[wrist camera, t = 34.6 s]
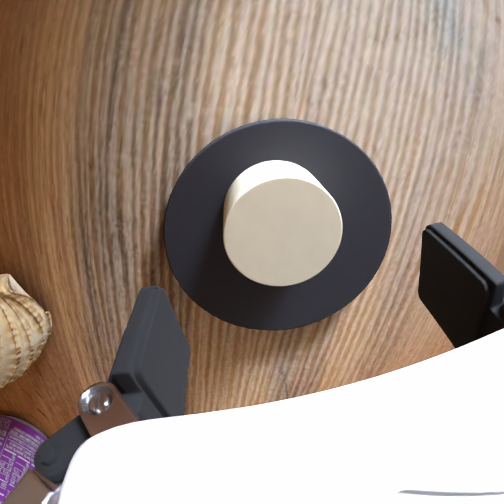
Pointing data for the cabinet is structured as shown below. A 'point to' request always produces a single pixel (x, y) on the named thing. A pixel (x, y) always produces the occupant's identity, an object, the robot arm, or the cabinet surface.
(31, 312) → the seashell
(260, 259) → the cap
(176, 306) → the cabinet surface
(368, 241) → the coaster
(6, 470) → the beverage can
